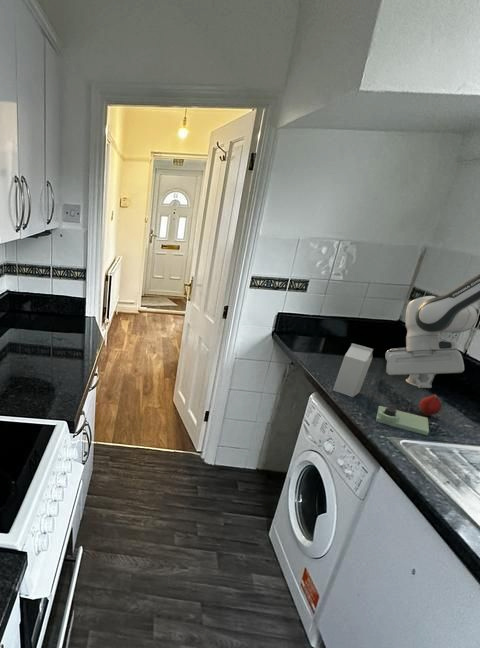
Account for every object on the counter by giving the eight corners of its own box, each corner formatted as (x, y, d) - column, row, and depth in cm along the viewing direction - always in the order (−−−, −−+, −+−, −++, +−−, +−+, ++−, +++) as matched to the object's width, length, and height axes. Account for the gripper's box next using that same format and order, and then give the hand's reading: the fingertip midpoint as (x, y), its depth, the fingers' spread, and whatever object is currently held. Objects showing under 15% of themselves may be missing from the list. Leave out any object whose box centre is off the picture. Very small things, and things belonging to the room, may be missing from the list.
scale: (426, 421, 139) (429, 413, 137) (427, 436, 129) (431, 427, 128) (377, 409, 146) (380, 401, 145) (375, 422, 136) (378, 414, 135)
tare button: (394, 414, 136) (396, 409, 136) (394, 417, 134) (396, 413, 133) (384, 411, 138) (385, 407, 137) (383, 414, 136) (385, 410, 135)
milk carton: (351, 399, 153) (369, 351, 145) (332, 391, 158) (348, 345, 150) (358, 394, 157) (376, 347, 149) (339, 387, 162) (355, 341, 154)
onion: (415, 409, 147) (424, 389, 143) (435, 414, 144) (445, 394, 140) (415, 415, 143) (425, 394, 139) (436, 421, 140) (446, 400, 136)
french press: (436, 385, 169) (463, 327, 159) (427, 392, 162) (454, 331, 152) (408, 377, 176) (432, 320, 165) (399, 383, 169) (423, 324, 158)
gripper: (383, 348, 142) (384, 388, 142) (462, 342, 128) (464, 387, 127) (386, 349, 147) (387, 388, 146) (463, 344, 132) (465, 387, 132)
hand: (424, 387), depth 137 cm, fingers closed
